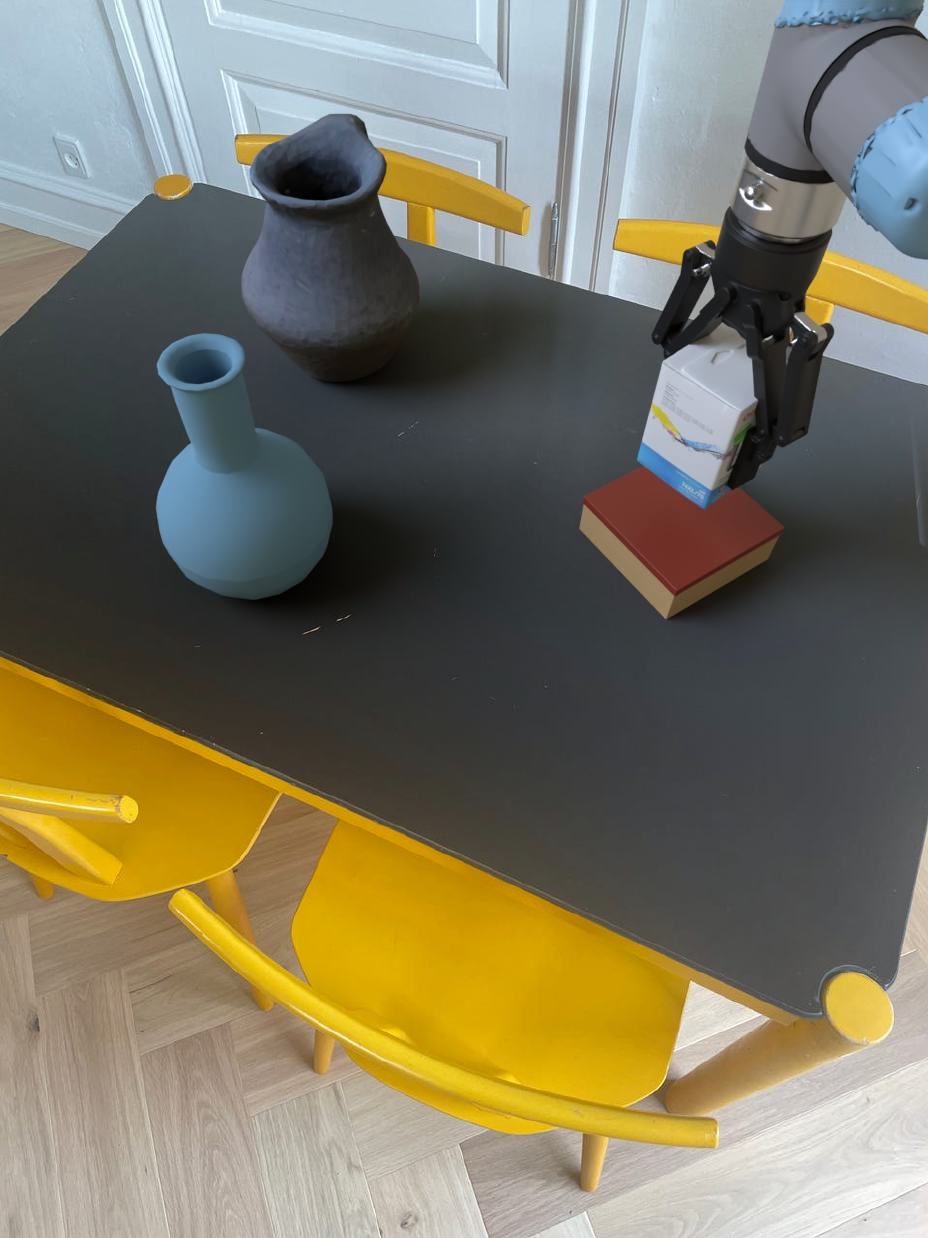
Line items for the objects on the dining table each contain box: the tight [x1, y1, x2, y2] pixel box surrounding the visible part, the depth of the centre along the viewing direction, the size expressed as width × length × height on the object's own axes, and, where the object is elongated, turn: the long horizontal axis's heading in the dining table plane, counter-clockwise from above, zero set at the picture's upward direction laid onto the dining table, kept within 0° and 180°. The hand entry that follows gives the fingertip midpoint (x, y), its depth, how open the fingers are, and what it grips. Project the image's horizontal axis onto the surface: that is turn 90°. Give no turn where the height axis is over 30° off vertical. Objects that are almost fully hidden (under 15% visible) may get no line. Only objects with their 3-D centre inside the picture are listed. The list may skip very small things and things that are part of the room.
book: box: [579, 465, 786, 620], centre depth 88 cm, size 14×14×5 cm
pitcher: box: [240, 113, 421, 383], centre depth 97 cm, size 21×22×25 cm
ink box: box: [636, 322, 788, 509], centre depth 76 cm, size 9×8×12 cm
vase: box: [155, 332, 334, 601], centre depth 78 cm, size 16×16×25 cm
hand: (703, 448), depth 79 cm, fingers closed on ink box, 9 cm apart
